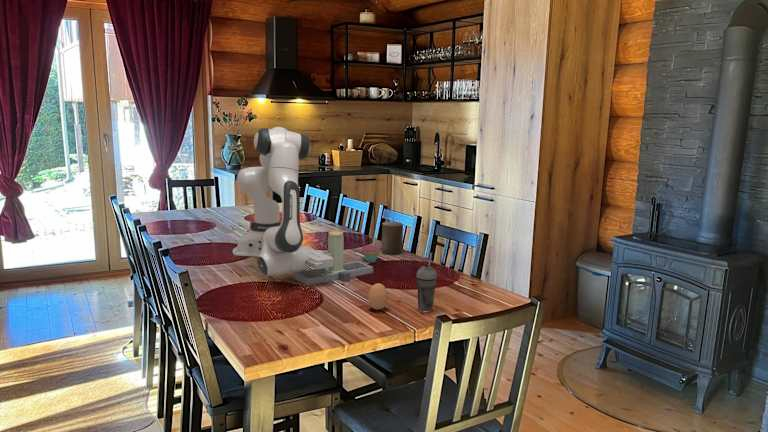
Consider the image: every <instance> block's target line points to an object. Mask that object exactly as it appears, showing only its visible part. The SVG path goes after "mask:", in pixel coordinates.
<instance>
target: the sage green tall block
mask: <svg viewBox="0 0 768 432" xmlns="http://www.w3.org/2000/svg"><path fill="white" fill-rule="evenodd" d="M327 235H328V236H327V237H328V238H327V252H330V253H332V254H333V259H334V263H333V266H332V267H328V268H325V269H324V273H325V274H324V275H327V274H332V273H338V272H342V271H347V270H344V269H343V264H344V242H345V240H344V238H345V237H344V232H343V231H340V230H332V231H331V230H330V231H329V232H328V234H327Z"/></svg>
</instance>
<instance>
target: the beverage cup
mask: <svg viewBox="0 0 768 432" xmlns="http://www.w3.org/2000/svg"><path fill="white" fill-rule="evenodd" d="M432 255H433V252H430V255H429V260H428V265H427V264H425V265H422V266H421V267H419V268H418V269H417V272H416V275H415V279H416V280H415V281H416V286H417V287H416V289H417V306H418V308H417V309H418V311H419V310H421V311H431V310H432V311H433V306H434V299H435V290H436V285H437V280H438V273H437V271H436V269H435V268H434V267H433V266H431V262H432V257H433V256H432ZM432 311H431V312H432Z"/></svg>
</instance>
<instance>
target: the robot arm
mask: <svg viewBox="0 0 768 432" xmlns="http://www.w3.org/2000/svg"><path fill="white" fill-rule="evenodd" d="M253 147H254V150H255V151H256V152H257V153H258V154H260V155H259V162H260V165H261V166H251V167H245V168H242V169H240V170H239V171H238V174H237V177H236V182H237V185H238V187H239V189H240V190H241V191H243V192H244V193H245V194H246V195H247V196H248V197H249V198H250V200H251V202H252V206H253V211H254V212H253V213H254V220H253V219H252V220H250V222H249V230H248V231H246V232H245V233H244V234H243V235H241V236H240V237H239V238H238V241H237V246H235V247H234V248H233V249H232V252H231V253H233V254H232V255H233V256H239V257H255V258H256V257H257V265H258V269H259V270H260V272H261V273H262V274H263V275H265V276H270V277H271V276H281V275H285V274H287V273H294V272H299V271H305V270H309V267H312V268H313V269H316V268H328V267H332V266H333V263H334V259H333V254H332V253H330V252H328V251H319V250H316V249H314V248H313V247H310V246H302V245H303V242H304V235H303V233H304V232H303V230H302V226H301V205H300V203H301V202H300V201H301V199H300V198H301V197H300V188H299V171H300V170H299V167H300V161H302V160H305V159H306V158H308V156H309V153H310V151H311V140H310V138H309V136H308V135H306V134H303V133H299V132H294V131H290V130H288V129H286V128H285V127H281V126H275V127H273V128H268V127H263V128H259V129H258V130H257V131H256V133H255V135H254V138H253ZM267 192H274V193H276V194H278V196H280V199H281V203H282V204H281V205H282V209H281V210H282V213H281V214H282V215H281V216H282V218H281V217H280V204H279V203H278V202H277V201H276V200H274V199H273V198H270V197H268V194H267ZM280 218H281V219H282V220H281V221H280Z"/></svg>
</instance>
